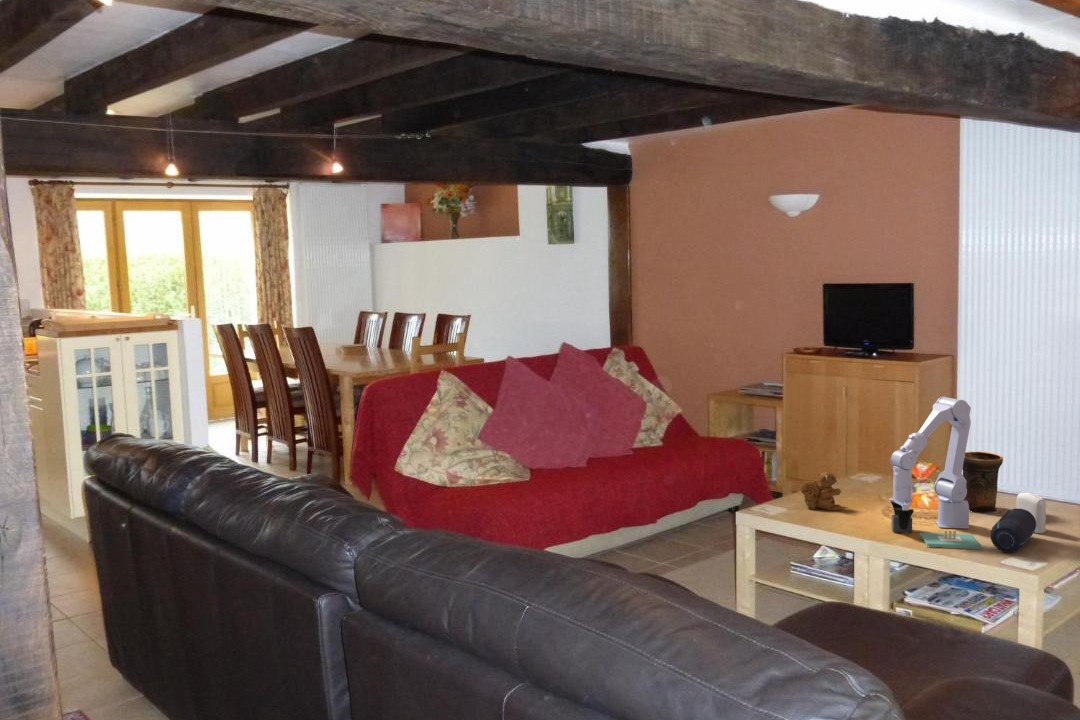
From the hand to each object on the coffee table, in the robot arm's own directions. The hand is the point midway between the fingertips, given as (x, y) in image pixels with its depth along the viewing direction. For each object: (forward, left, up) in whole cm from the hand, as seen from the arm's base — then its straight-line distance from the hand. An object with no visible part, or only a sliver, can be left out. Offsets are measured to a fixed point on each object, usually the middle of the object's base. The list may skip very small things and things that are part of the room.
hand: (901, 525), depth 318 cm
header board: (-13, +11, -2) cm, 17 cm away
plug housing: (0, 0, -2) cm, 2 cm away
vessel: (-32, -32, -2) cm, 45 cm away
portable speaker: (-32, +11, -2) cm, 34 cm away
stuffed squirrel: (+24, -28, -2) cm, 37 cm away
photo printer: (-42, -7, -2) cm, 43 cm away
